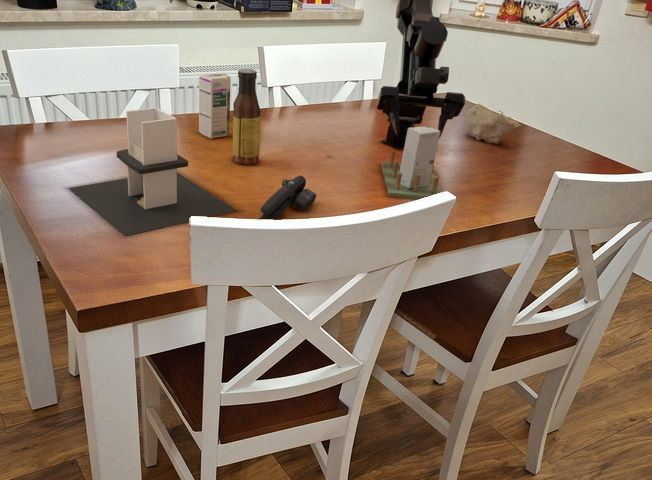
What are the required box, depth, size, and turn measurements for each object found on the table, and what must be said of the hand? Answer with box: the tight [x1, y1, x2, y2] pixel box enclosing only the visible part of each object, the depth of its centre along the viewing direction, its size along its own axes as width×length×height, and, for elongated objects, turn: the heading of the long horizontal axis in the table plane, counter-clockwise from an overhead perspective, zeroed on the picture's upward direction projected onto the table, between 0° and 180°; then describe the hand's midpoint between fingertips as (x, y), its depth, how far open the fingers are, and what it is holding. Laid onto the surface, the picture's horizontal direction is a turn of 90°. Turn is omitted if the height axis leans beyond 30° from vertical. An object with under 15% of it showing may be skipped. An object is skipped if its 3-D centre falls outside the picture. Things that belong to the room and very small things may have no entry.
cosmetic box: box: [399, 125, 441, 189], centre depth 142 cm, size 6×4×12 cm
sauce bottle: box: [232, 68, 262, 166], centre depth 146 cm, size 6×6×20 cm
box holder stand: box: [67, 107, 239, 237], centre depth 125 cm, size 25×24×16 cm
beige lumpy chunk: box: [464, 103, 522, 145], centre depth 179 cm, size 15×7×15 cm
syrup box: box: [198, 71, 232, 139], centre depth 163 cm, size 6×6×14 cm
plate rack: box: [380, 150, 443, 200], centre depth 147 cm, size 20×12×4 cm, turn 177°
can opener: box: [258, 175, 317, 220], centre depth 127 cm, size 18×7×6 cm, turn 150°
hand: (418, 136), depth 144 cm, fingers open, 9 cm apart
